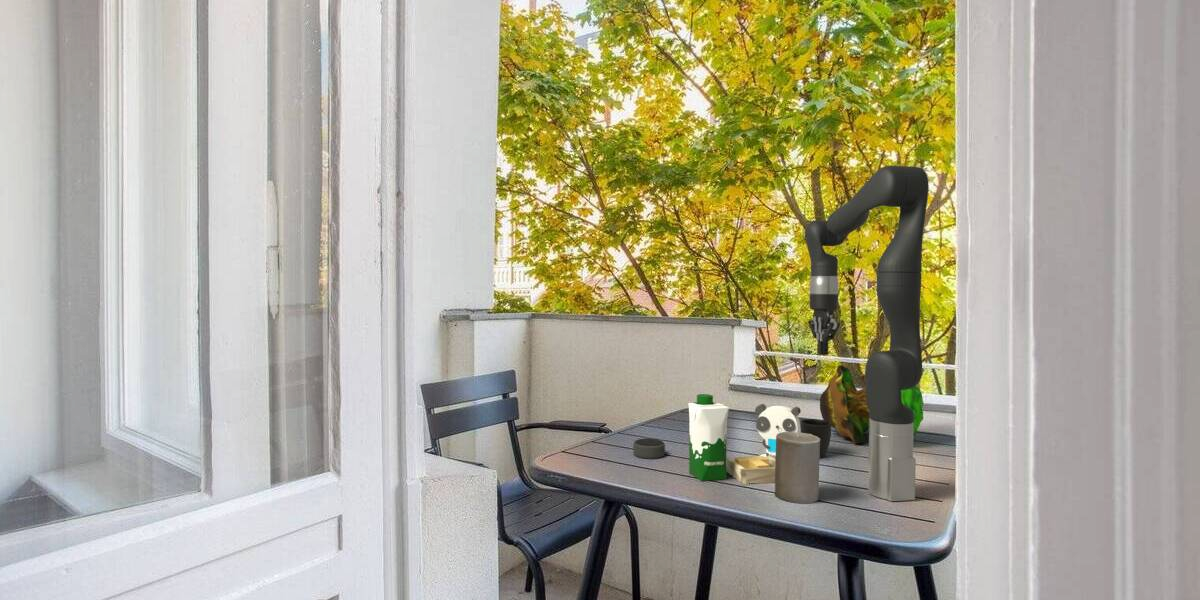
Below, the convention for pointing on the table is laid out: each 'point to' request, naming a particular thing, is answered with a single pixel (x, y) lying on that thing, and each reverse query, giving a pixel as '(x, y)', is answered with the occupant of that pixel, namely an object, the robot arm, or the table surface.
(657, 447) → the smart speaker
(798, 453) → the pillar candle
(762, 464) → the yellow cheese wedge
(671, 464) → the table surface
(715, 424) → the milk carton
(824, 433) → the mug
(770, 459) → the beige shallow open box
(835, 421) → the decorative tree
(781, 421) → the panda figurine
